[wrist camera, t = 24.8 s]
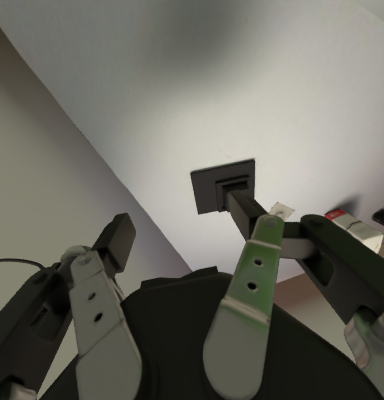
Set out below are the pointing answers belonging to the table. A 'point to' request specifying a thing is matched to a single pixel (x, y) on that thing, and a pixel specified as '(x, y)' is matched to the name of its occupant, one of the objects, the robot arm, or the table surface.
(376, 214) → the camera
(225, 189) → the black square block
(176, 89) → the table surface
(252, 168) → the base pad
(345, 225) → the ink box
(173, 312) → the robot arm
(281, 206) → the beige piece
